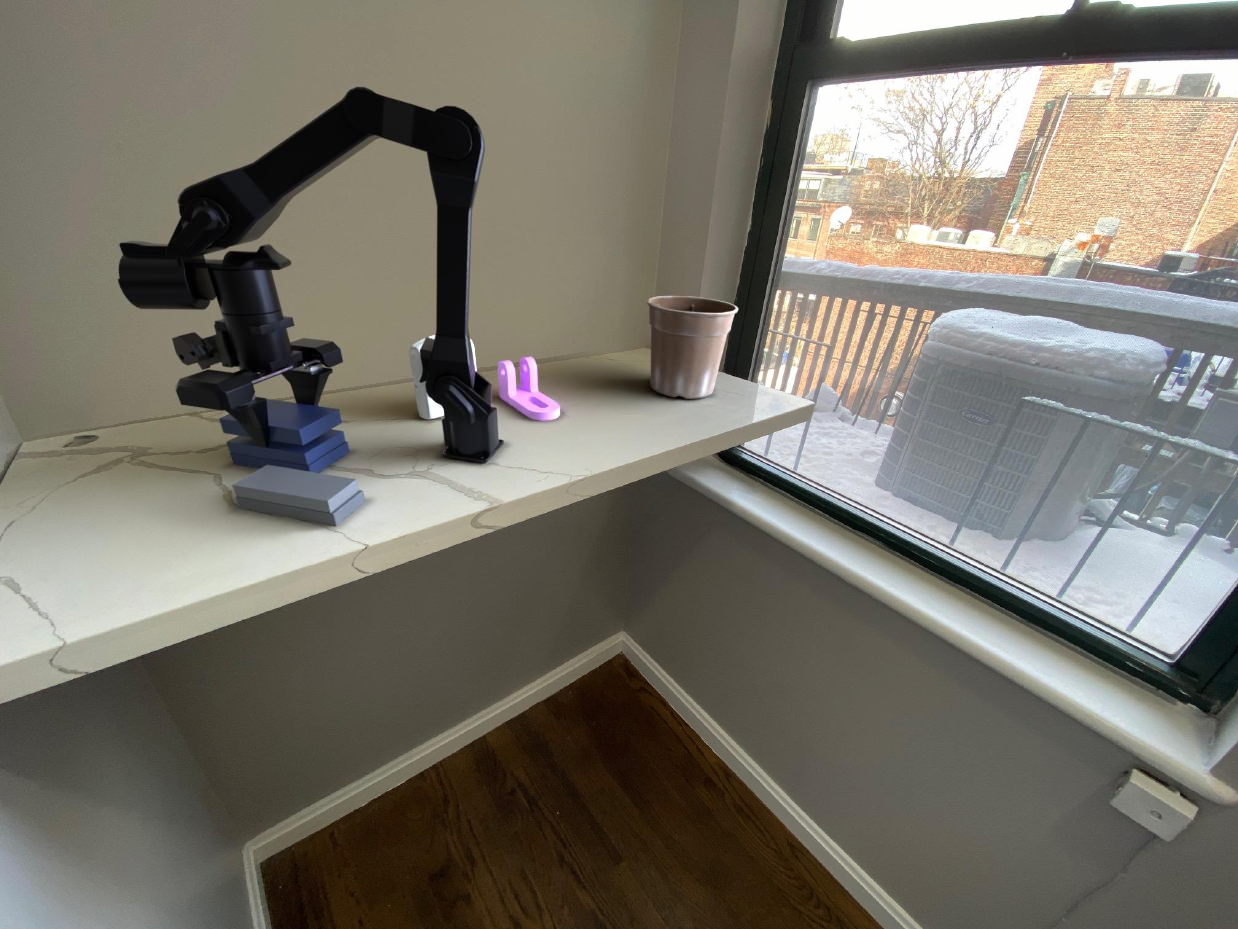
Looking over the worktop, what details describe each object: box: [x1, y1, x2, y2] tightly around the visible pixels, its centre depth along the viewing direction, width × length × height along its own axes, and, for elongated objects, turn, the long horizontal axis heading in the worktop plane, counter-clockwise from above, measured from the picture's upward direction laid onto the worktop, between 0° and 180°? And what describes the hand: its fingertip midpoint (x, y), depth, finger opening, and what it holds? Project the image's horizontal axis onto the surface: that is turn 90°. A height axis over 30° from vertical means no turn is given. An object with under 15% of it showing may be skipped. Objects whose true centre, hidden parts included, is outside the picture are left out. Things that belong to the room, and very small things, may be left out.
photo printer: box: [408, 334, 478, 420], centre depth 80 cm, size 10×4×12 cm, turn 140°
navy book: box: [218, 398, 343, 445], centre depth 64 cm, size 11×7×2 cm, turn 79°
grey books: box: [231, 465, 366, 526], centre depth 57 cm, size 12×5×3 cm, turn 79°
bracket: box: [497, 356, 561, 422], centre depth 85 cm, size 13×6×7 cm, turn 38°
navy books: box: [226, 428, 351, 473], centre depth 66 cm, size 11×7×3 cm, turn 79°
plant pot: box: [646, 295, 739, 400], centre depth 95 cm, size 16×16×16 cm
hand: (287, 434), depth 65 cm, fingers closed on navy book, 7 cm apart
